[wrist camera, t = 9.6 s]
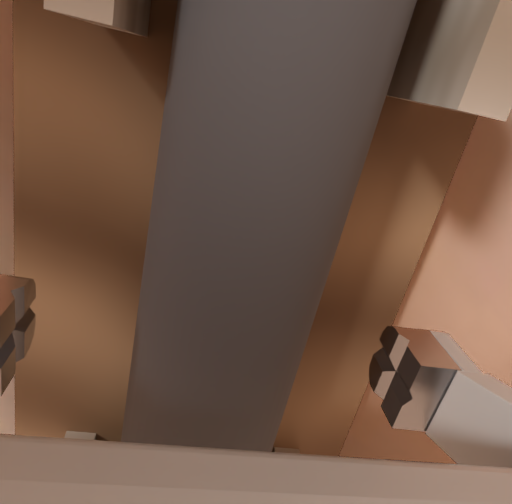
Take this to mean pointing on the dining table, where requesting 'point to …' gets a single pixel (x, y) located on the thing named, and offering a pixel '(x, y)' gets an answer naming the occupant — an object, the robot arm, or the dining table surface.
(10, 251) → the dining table surface
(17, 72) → the wooden cradle
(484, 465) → the robot arm
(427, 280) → the dining table surface
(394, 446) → the dining table surface
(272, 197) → the grey and teal rod
